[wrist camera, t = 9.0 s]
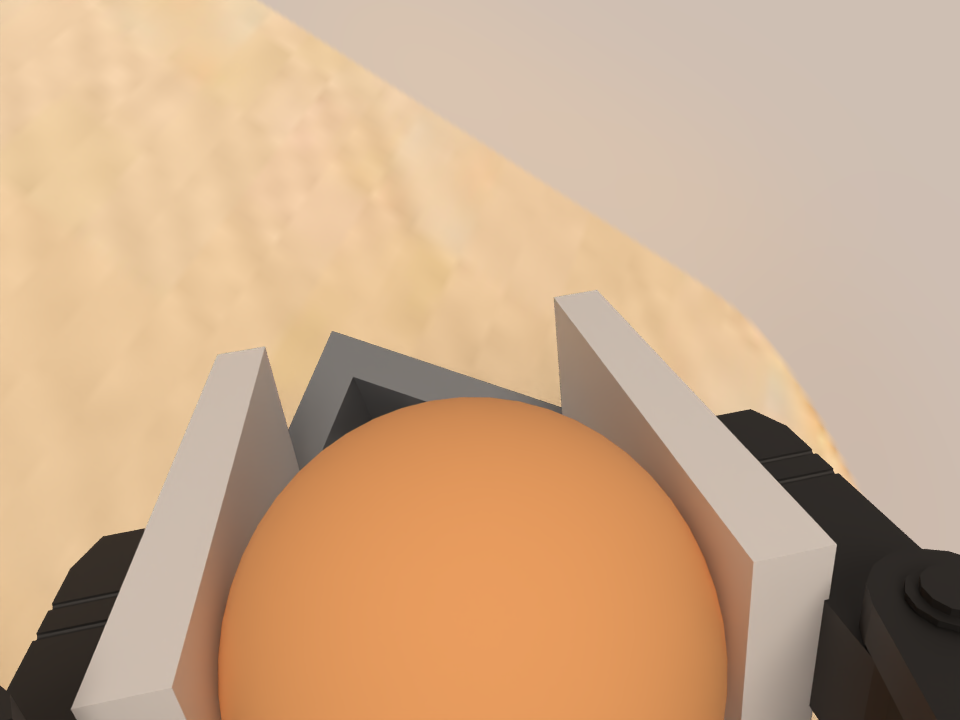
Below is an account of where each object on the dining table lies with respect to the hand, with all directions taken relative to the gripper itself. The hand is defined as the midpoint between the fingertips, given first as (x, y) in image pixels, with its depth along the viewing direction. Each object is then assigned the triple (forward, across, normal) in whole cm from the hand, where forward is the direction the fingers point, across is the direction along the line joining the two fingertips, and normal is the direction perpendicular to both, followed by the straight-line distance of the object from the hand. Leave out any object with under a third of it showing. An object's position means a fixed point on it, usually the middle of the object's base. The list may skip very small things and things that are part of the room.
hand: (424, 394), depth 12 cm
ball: (-5, 0, 0) cm, 5 cm away
